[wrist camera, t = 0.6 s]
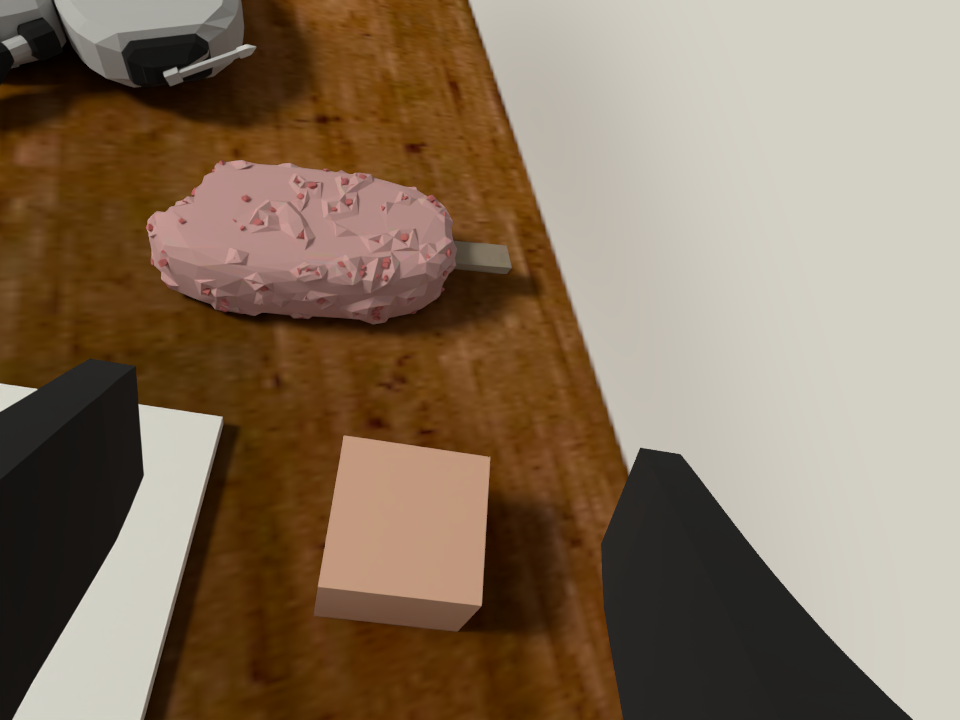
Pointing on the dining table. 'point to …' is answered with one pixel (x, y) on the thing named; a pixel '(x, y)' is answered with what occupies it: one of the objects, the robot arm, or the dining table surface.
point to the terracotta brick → (405, 536)
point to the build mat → (130, 579)
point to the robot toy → (127, 37)
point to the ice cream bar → (311, 244)
